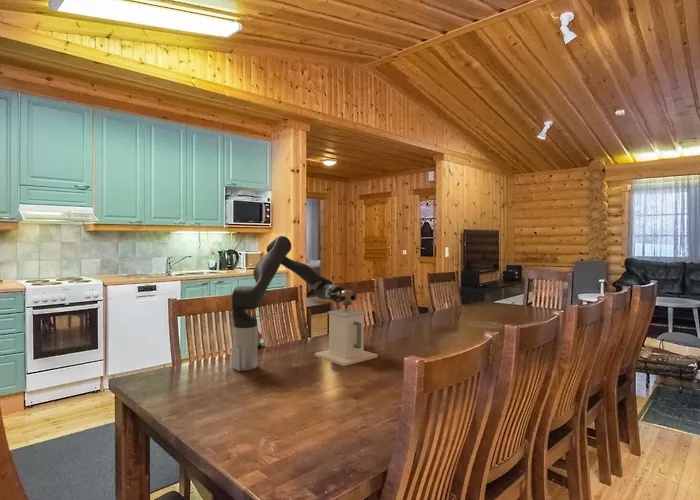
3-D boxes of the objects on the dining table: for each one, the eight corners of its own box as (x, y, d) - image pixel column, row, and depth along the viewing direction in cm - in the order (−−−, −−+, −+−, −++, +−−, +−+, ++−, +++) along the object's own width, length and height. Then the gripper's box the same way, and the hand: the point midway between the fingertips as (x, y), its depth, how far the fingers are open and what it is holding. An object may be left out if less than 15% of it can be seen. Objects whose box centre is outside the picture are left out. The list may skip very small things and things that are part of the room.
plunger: (345, 347, 192) (345, 292, 191) (332, 343, 199) (332, 290, 198) (360, 343, 198) (360, 291, 197) (346, 339, 205) (347, 289, 204)
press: (344, 366, 184) (344, 318, 184) (314, 355, 199) (315, 311, 198) (377, 357, 198) (378, 312, 197) (347, 348, 213) (348, 306, 212)
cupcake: (252, 349, 210) (252, 323, 209) (240, 346, 215) (240, 321, 214) (266, 345, 216) (266, 321, 216) (254, 342, 221) (254, 318, 221)
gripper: (321, 285, 208) (333, 290, 192) (349, 284, 213) (363, 289, 197) (321, 301, 208) (333, 307, 192) (349, 300, 214) (363, 305, 198)
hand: (348, 298), depth 195 cm, fingers closed on plunger, 4 cm apart
